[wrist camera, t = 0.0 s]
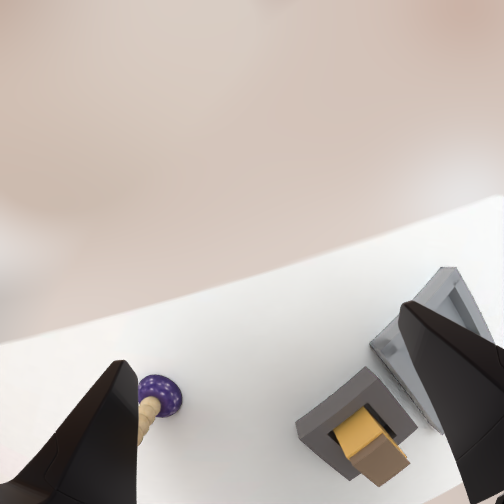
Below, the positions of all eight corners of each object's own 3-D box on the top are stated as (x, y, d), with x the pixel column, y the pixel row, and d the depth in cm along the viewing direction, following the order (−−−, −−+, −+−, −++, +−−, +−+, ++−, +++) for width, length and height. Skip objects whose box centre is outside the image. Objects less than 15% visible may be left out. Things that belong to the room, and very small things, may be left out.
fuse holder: (404, 414, 22) (418, 427, 19) (342, 464, 22) (349, 481, 19) (365, 366, 23) (378, 377, 20) (295, 422, 23) (299, 439, 20)
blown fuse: (381, 425, 22) (412, 463, 15) (354, 446, 22) (378, 488, 15) (357, 398, 22) (387, 437, 15) (328, 421, 22) (350, 465, 15)
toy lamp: (191, 416, 23) (127, 555, 6) (146, 422, 23) (61, 538, 6) (172, 370, 23) (70, 491, 6) (128, 378, 23) (10, 474, 6)
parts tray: (489, 359, 22) (503, 364, 20) (431, 425, 22) (442, 435, 20) (440, 267, 23) (456, 267, 21) (369, 343, 23) (380, 350, 20)
